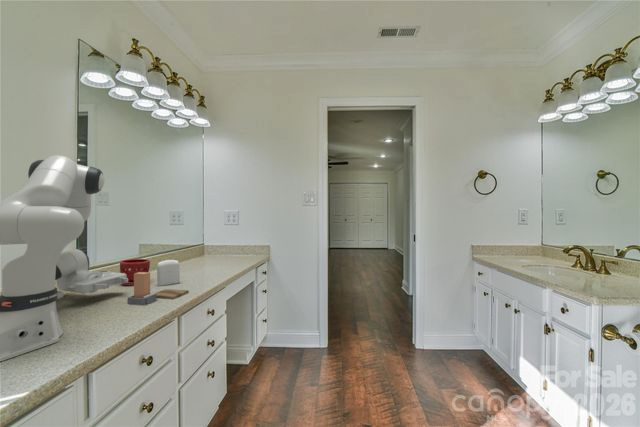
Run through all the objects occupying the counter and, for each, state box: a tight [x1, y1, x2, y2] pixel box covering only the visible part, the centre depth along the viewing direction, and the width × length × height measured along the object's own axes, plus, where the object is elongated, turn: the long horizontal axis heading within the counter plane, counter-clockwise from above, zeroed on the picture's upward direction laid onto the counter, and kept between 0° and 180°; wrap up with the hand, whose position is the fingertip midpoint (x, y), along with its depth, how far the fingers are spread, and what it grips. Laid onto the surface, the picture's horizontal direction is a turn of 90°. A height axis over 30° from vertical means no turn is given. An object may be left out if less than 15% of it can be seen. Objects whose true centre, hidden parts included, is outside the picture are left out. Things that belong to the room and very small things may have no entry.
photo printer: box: [156, 259, 181, 287], centre depth 151 cm, size 10×4×12 cm, turn 127°
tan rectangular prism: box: [133, 272, 151, 298], centre depth 122 cm, size 3×5×12 cm, turn 78°
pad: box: [156, 288, 190, 300], centre depth 132 cm, size 10×12×1 cm
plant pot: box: [119, 258, 151, 286], centre depth 153 cm, size 13×13×12 cm
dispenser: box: [127, 291, 158, 306], centre depth 122 cm, size 7×9×4 cm
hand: (117, 283), depth 124 cm, fingers open, 8 cm apart
